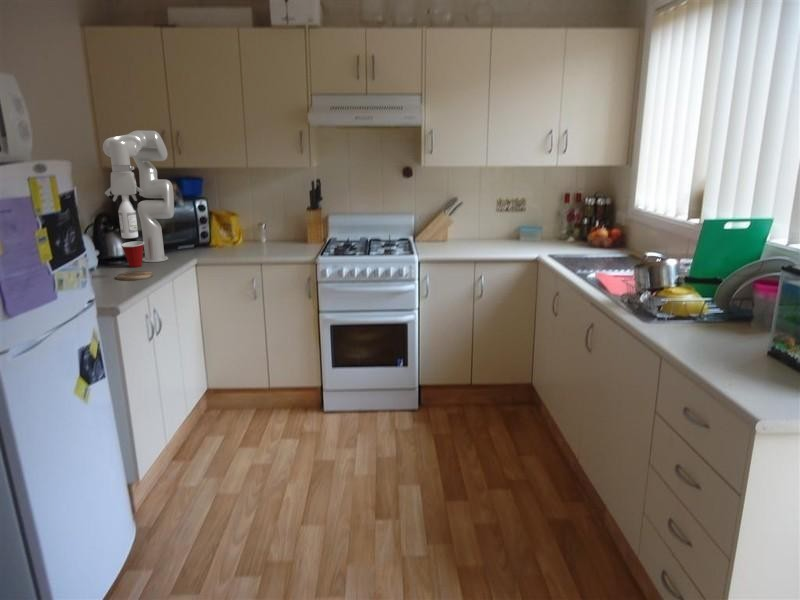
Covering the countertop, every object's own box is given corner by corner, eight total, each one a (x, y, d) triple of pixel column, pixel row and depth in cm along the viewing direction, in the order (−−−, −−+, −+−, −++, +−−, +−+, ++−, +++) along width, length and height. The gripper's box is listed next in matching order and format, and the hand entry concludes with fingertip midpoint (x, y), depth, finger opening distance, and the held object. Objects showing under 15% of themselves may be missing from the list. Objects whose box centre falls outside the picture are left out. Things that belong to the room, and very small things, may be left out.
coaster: (119, 274, 261) (119, 271, 260) (154, 272, 265) (153, 269, 265) (114, 281, 247) (114, 278, 247) (150, 279, 251) (150, 276, 251)
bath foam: (140, 236, 255) (135, 192, 249) (135, 238, 248) (130, 193, 243) (125, 236, 254) (119, 192, 248) (119, 238, 247) (113, 193, 242)
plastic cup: (118, 267, 275) (115, 243, 272) (136, 263, 285) (133, 240, 282) (134, 269, 271) (131, 245, 268) (151, 265, 281) (149, 242, 277)
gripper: (144, 168, 249) (148, 208, 254) (101, 168, 244) (106, 209, 248) (141, 169, 242) (146, 210, 247) (98, 169, 237) (103, 211, 242)
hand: (126, 209), depth 247 cm, fingers closed on bath foam, 6 cm apart
